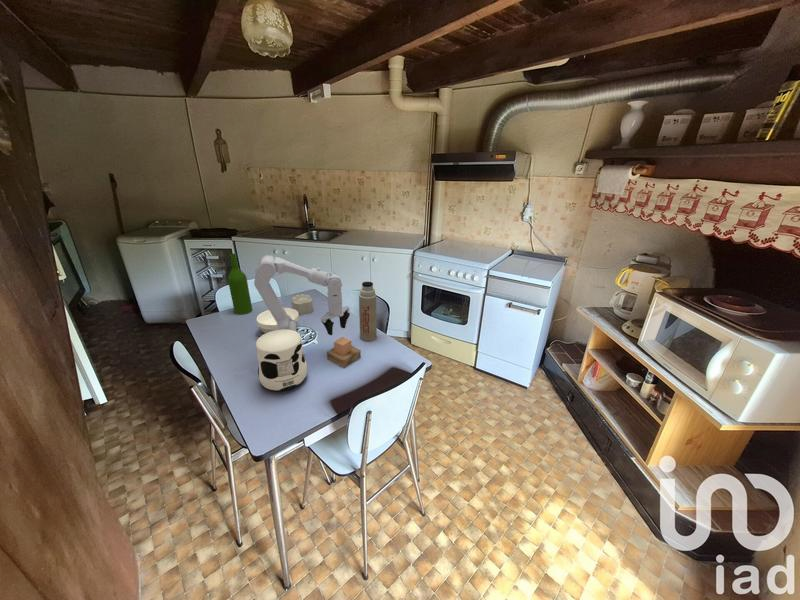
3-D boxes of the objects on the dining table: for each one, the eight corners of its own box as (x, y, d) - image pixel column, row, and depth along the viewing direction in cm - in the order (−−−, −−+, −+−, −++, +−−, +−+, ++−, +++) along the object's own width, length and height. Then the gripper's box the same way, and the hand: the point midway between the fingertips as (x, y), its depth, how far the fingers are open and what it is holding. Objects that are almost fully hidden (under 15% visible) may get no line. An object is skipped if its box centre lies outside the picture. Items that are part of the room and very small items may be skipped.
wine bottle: (255, 310, 172) (245, 253, 159) (240, 316, 165) (229, 257, 152) (246, 306, 176) (235, 251, 163) (231, 312, 169) (219, 254, 156)
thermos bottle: (370, 343, 144) (370, 287, 133) (356, 338, 148) (355, 284, 136) (379, 335, 151) (379, 282, 140) (365, 331, 154) (365, 278, 143)
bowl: (305, 324, 159) (304, 308, 156) (290, 343, 142) (288, 326, 139) (271, 321, 161) (268, 306, 158) (251, 339, 144) (248, 323, 140)
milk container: (282, 362, 128) (276, 324, 121) (317, 372, 123) (313, 333, 116) (249, 387, 113) (241, 345, 106) (287, 400, 108) (281, 357, 101)
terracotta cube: (343, 355, 128) (342, 345, 126) (334, 351, 130) (333, 341, 128) (351, 350, 132) (351, 340, 130) (342, 346, 134) (342, 336, 132)
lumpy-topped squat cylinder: (296, 316, 167) (294, 302, 163) (289, 307, 177) (288, 293, 173) (315, 312, 172) (313, 298, 169) (307, 304, 182) (306, 290, 179)
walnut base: (343, 368, 126) (343, 360, 125) (327, 359, 132) (326, 352, 130) (360, 358, 134) (360, 350, 132) (344, 350, 139) (344, 342, 137)
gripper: (328, 310, 121) (330, 340, 126) (354, 299, 132) (354, 327, 137) (316, 306, 125) (318, 335, 130) (342, 295, 136) (343, 322, 141)
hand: (336, 331), depth 134 cm, fingers open, 7 cm apart
